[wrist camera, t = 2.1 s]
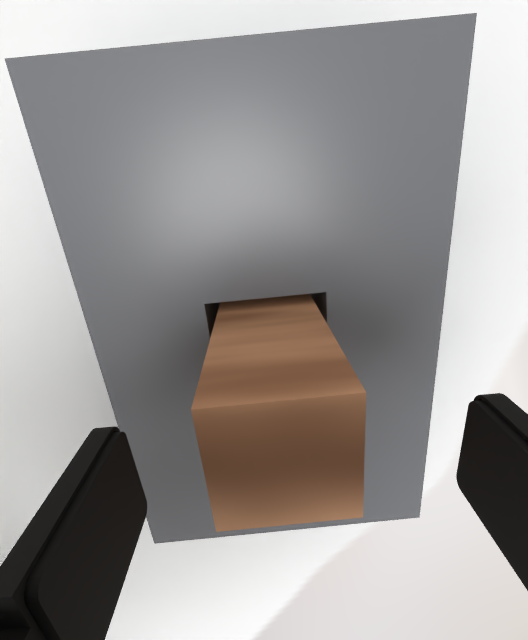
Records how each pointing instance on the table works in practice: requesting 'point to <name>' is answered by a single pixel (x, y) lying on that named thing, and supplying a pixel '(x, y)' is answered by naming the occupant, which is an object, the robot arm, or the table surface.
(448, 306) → the table surface
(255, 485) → the wooden block
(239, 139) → the grey block with hole
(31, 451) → the table surface
